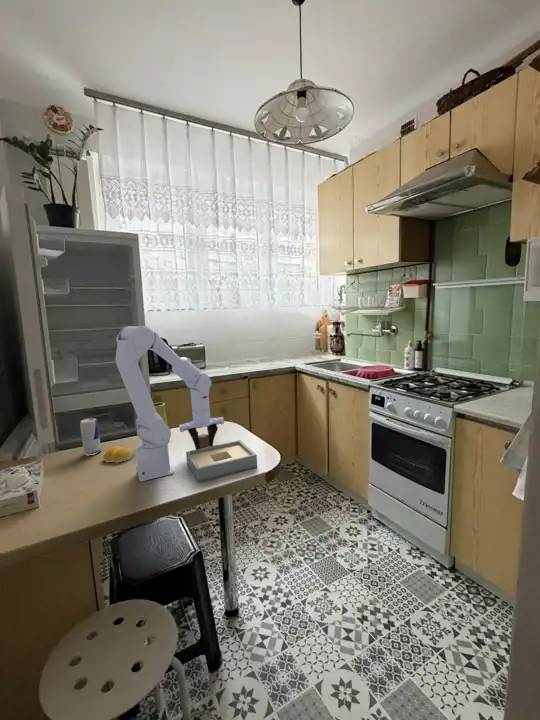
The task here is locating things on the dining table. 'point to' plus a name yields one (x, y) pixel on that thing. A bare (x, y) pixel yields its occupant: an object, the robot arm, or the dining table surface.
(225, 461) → the socket box
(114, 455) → the bread roll
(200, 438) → the walnut peg
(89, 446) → the energy drink
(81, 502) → the dining table surface
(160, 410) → the vase
